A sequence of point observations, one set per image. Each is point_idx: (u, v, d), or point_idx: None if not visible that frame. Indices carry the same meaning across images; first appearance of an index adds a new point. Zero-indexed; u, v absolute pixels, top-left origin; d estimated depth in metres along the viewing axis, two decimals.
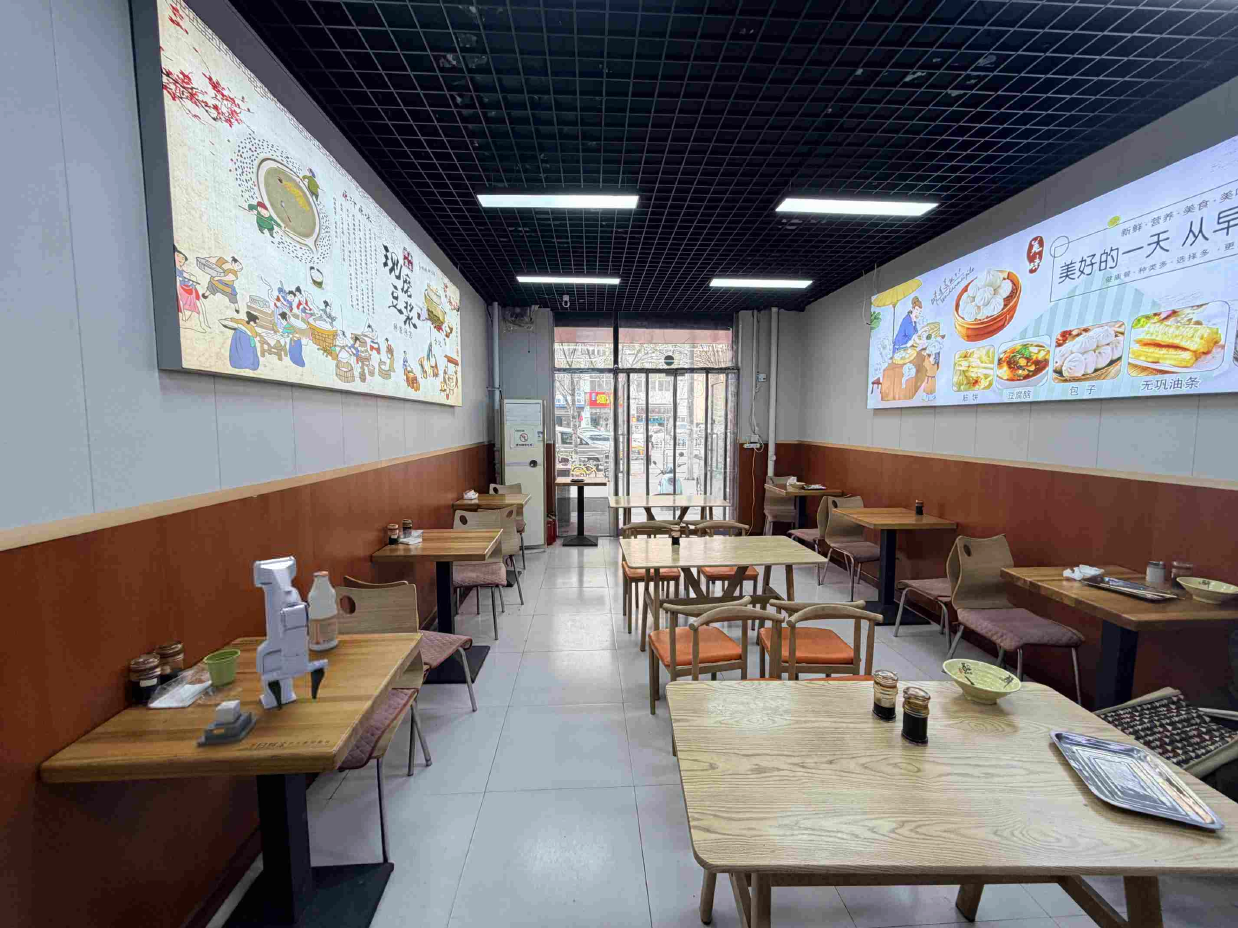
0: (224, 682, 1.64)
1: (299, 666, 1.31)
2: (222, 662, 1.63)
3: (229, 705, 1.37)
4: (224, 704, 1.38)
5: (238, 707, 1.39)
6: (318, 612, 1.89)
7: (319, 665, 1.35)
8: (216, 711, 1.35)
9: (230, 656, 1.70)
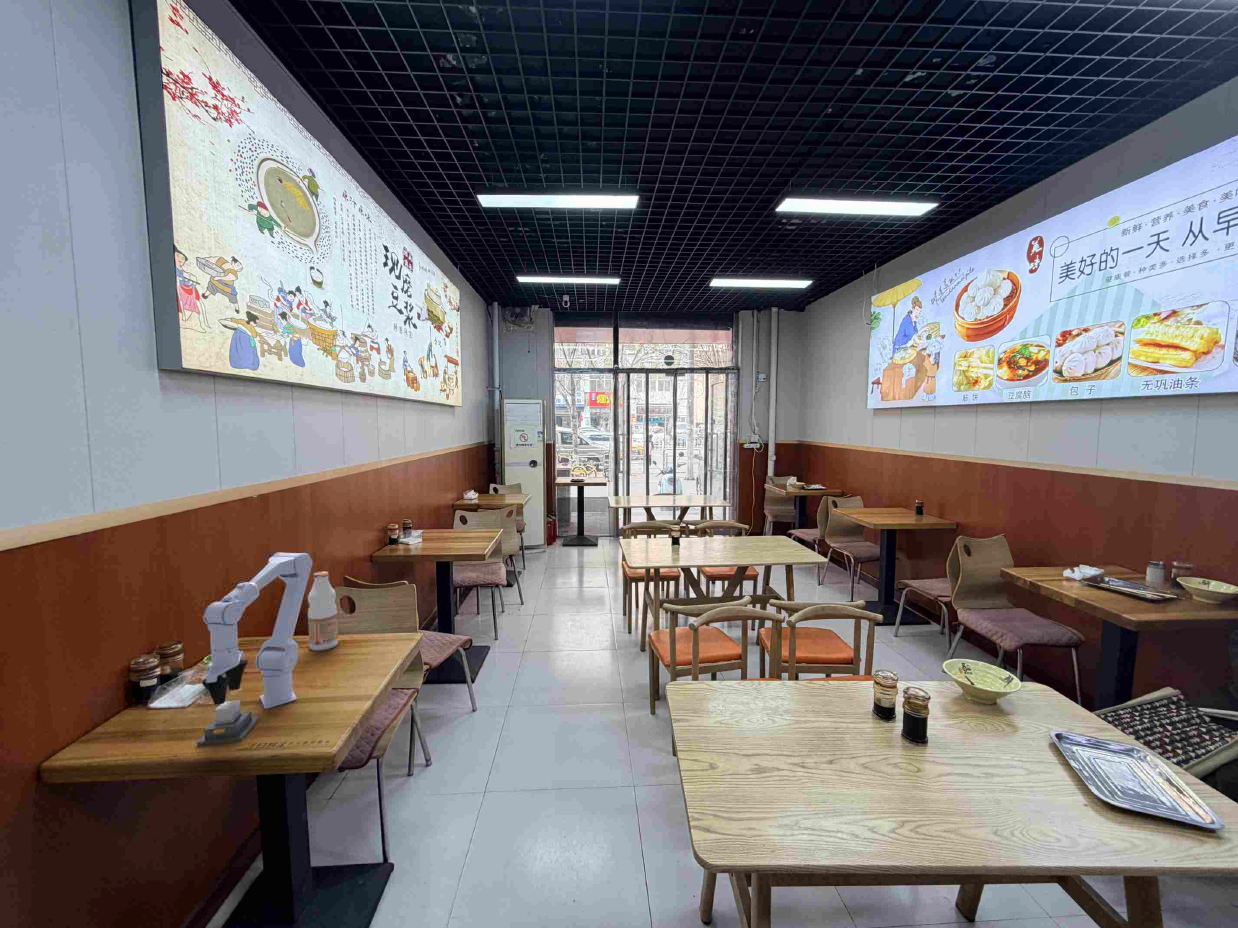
0: None
1: None
2: None
3: (229, 705, 1.37)
4: (224, 704, 1.38)
5: (238, 707, 1.39)
6: (318, 612, 1.89)
7: (208, 673, 1.31)
8: (216, 711, 1.35)
9: None
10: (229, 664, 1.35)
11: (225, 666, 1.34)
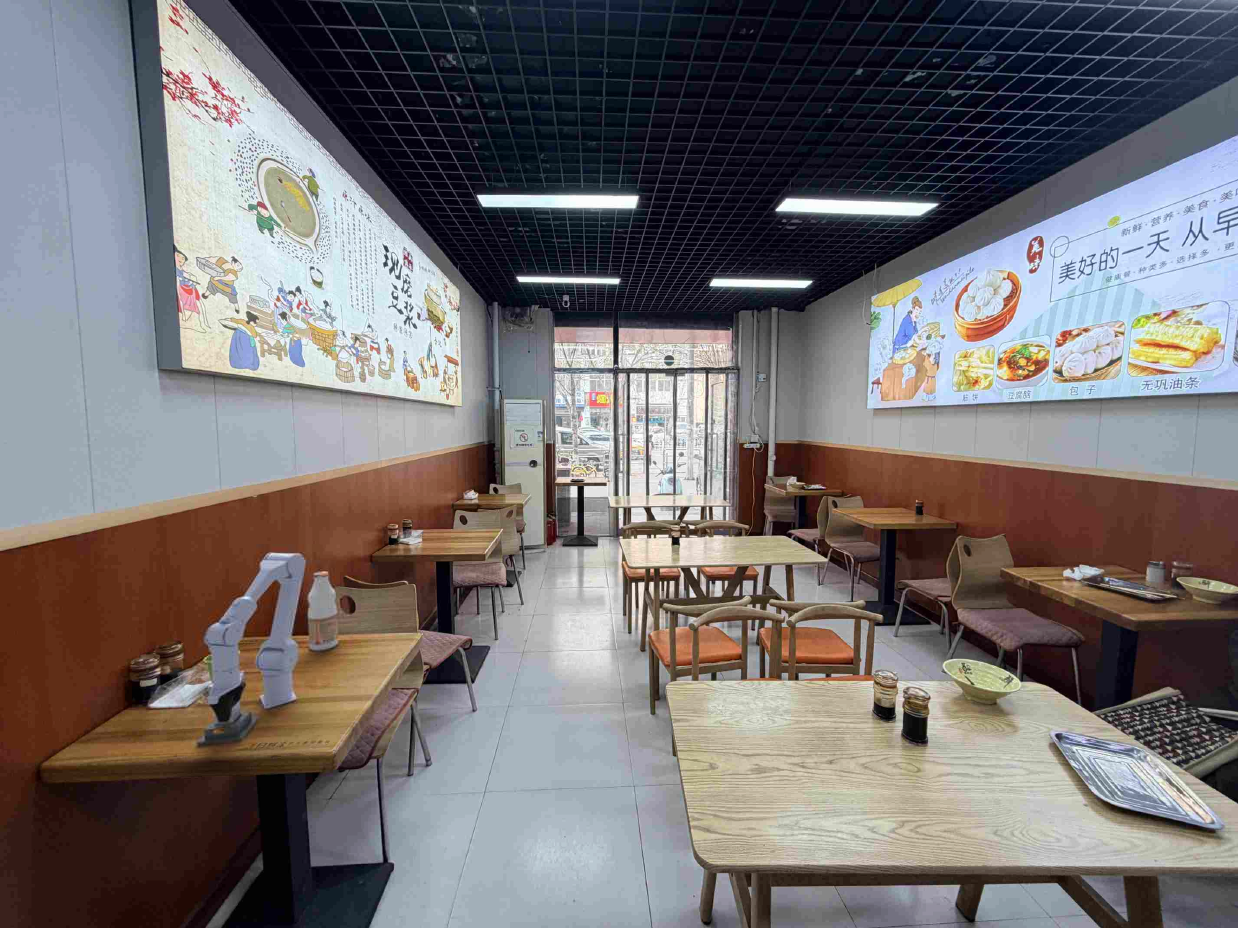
0: None
1: None
2: None
3: None
4: None
5: (238, 707, 1.39)
6: (318, 612, 1.89)
7: (210, 694, 1.32)
8: None
9: None
10: (230, 685, 1.35)
11: (226, 687, 1.35)
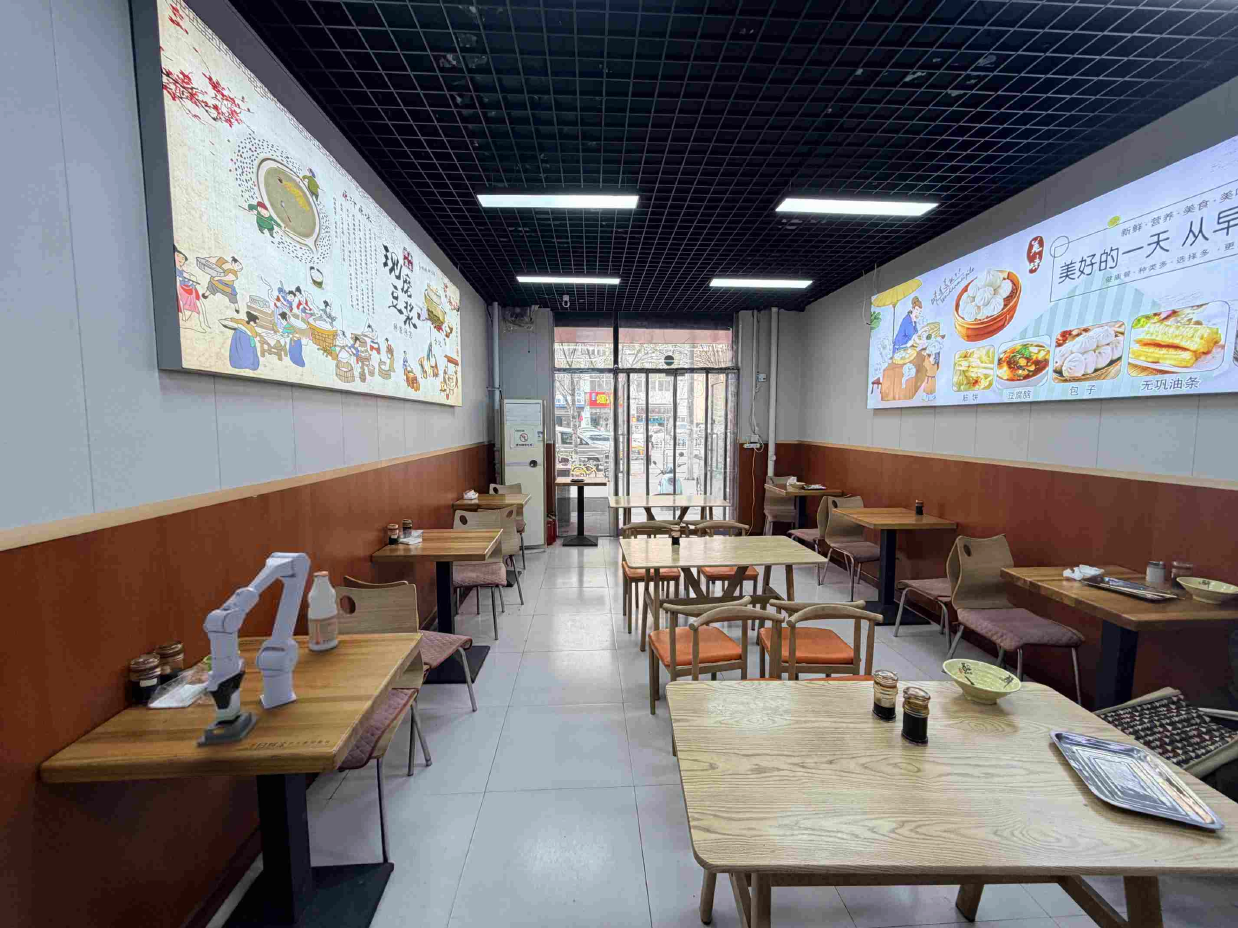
0: None
1: None
2: None
3: None
4: None
5: (237, 695, 1.39)
6: (318, 612, 1.89)
7: (209, 681, 1.32)
8: None
9: None
10: (229, 672, 1.35)
11: (226, 674, 1.35)
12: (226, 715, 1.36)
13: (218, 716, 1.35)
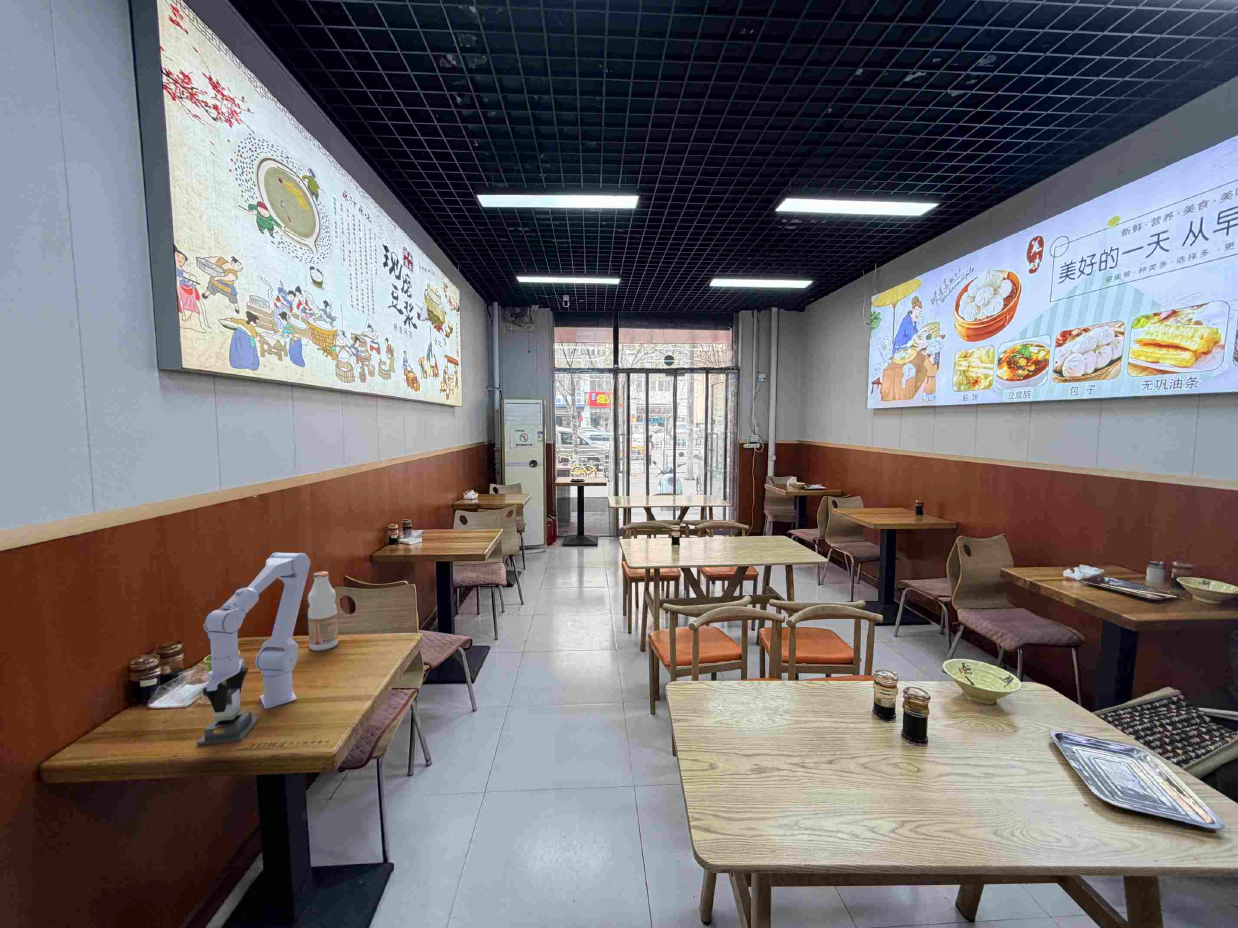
0: (224, 682, 1.64)
1: None
2: None
3: (229, 693, 1.37)
4: None
5: (237, 695, 1.39)
6: (318, 612, 1.89)
7: (209, 681, 1.32)
8: None
9: None
10: (229, 672, 1.35)
11: (225, 674, 1.35)
12: (226, 715, 1.36)
13: (218, 716, 1.35)
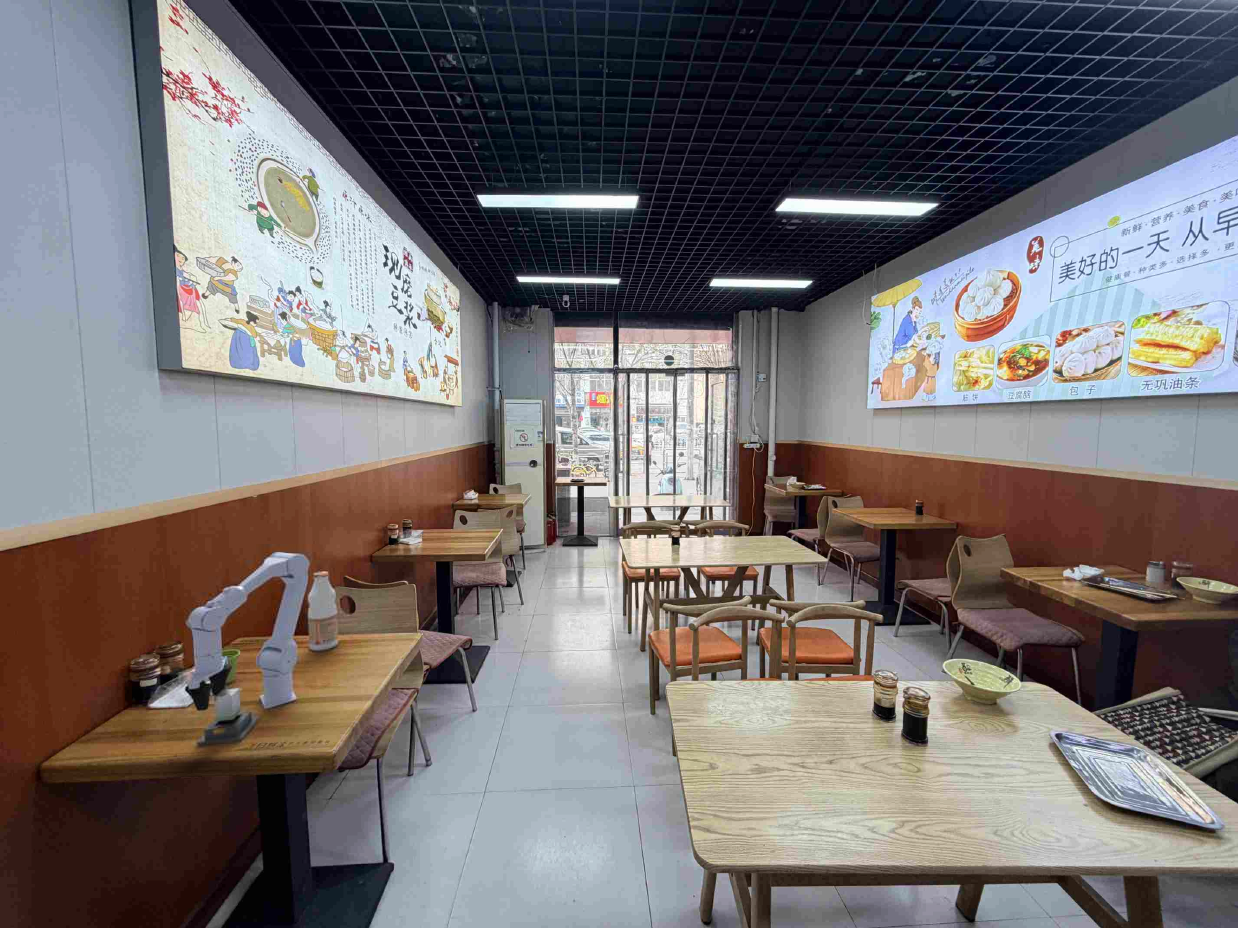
0: None
1: None
2: None
3: (229, 693, 1.37)
4: (223, 692, 1.37)
5: (237, 695, 1.39)
6: (318, 612, 1.89)
7: None
8: (215, 699, 1.35)
9: (230, 656, 1.70)
10: (212, 670, 1.34)
11: (208, 672, 1.34)
12: (226, 715, 1.36)
13: (218, 716, 1.35)
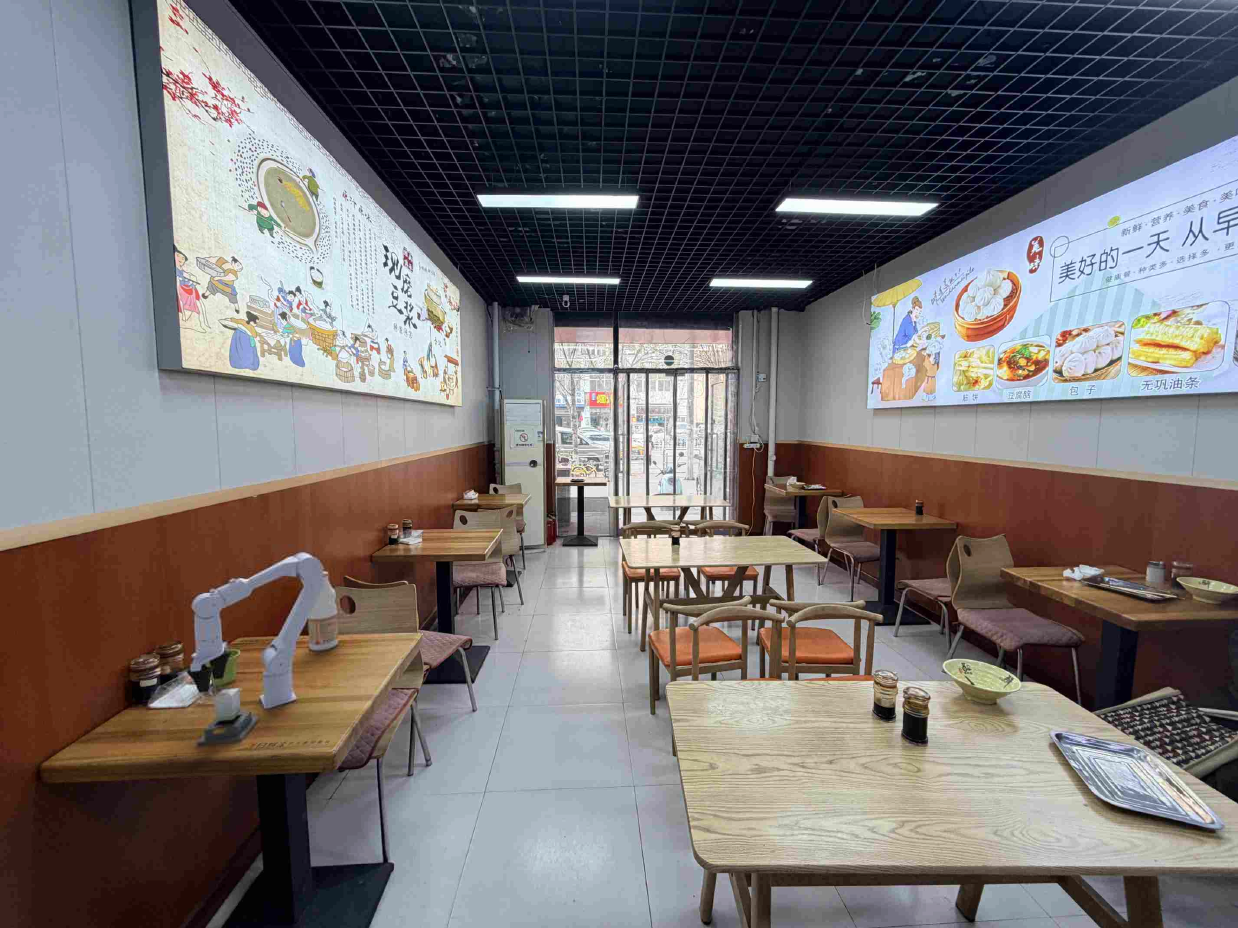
0: (224, 682, 1.64)
1: None
2: None
3: (229, 693, 1.37)
4: (223, 692, 1.37)
5: (237, 695, 1.39)
6: (318, 612, 1.89)
7: (193, 662, 1.37)
8: (215, 699, 1.35)
9: (230, 656, 1.70)
10: (213, 654, 1.41)
11: (209, 656, 1.40)
12: (226, 715, 1.36)
13: (218, 716, 1.35)
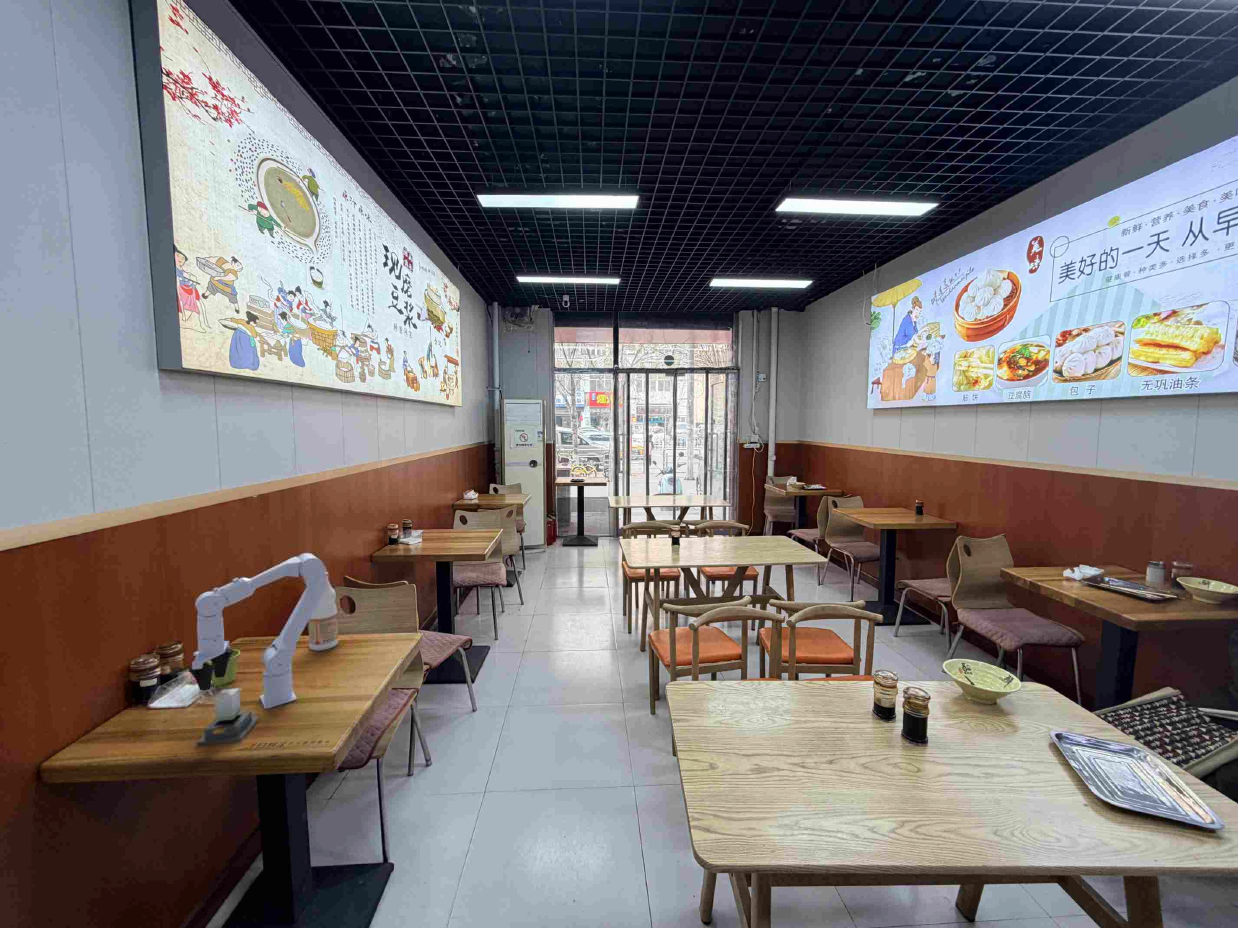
0: (224, 682, 1.64)
1: None
2: None
3: (229, 693, 1.37)
4: (223, 692, 1.37)
5: (237, 695, 1.39)
6: (318, 612, 1.89)
7: (195, 660, 1.38)
8: (215, 699, 1.35)
9: None
10: (215, 652, 1.42)
11: (211, 654, 1.41)
12: (226, 715, 1.36)
13: (218, 716, 1.35)
